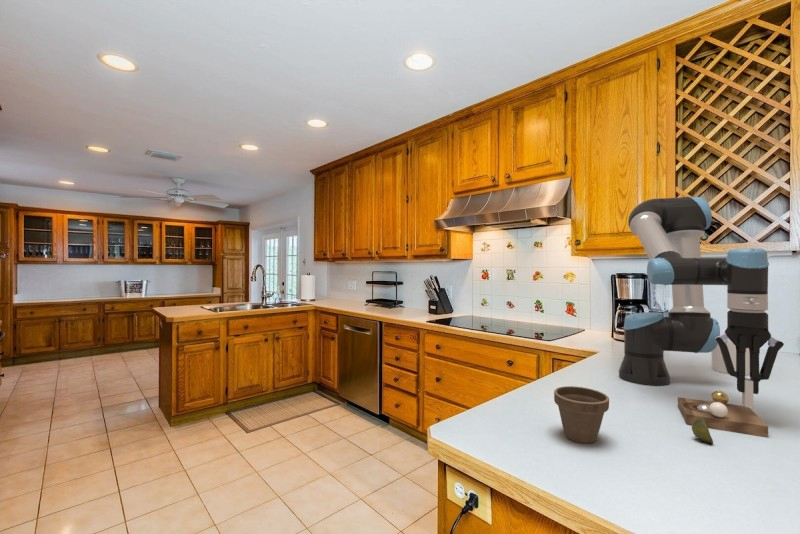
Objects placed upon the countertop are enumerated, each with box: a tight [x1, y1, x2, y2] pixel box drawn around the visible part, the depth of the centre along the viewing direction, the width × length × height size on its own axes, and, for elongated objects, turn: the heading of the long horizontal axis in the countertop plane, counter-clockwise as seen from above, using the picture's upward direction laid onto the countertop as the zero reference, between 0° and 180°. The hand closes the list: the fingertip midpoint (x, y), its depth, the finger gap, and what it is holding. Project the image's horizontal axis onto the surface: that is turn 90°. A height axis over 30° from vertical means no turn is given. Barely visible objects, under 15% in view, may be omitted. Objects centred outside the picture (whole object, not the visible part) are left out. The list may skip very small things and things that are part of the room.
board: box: [677, 396, 769, 438], centre depth 97 cm, size 15×15×2 cm
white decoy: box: [709, 401, 728, 417], centre depth 93 cm, size 4×4×4 cm
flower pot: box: [553, 385, 610, 444], centre depth 87 cm, size 12×11×10 cm
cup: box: [711, 338, 750, 377], centre depth 145 cm, size 12×12×12 cm
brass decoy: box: [711, 390, 730, 404], centre depth 102 cm, size 4×4×4 cm
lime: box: [691, 418, 714, 444], centre depth 85 cm, size 4×5×5 cm
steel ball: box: [696, 404, 710, 411], centre depth 99 cm, size 4×4×4 cm
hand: (747, 405), depth 95 cm, fingers closed
